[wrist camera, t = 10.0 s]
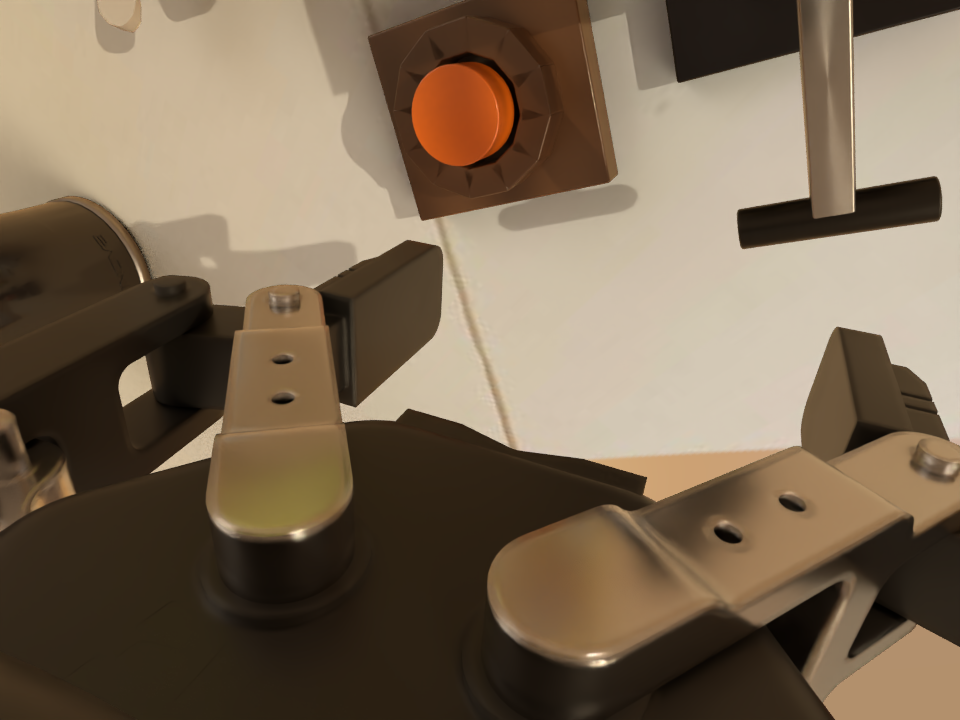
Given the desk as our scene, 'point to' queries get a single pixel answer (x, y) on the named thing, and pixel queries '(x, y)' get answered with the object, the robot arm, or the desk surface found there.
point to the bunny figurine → (121, 13)
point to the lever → (834, 149)
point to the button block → (534, 88)
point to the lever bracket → (766, 29)
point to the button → (462, 113)
